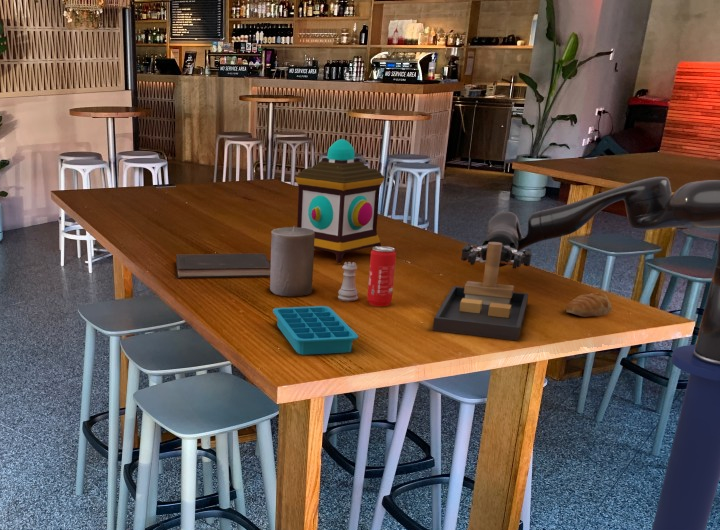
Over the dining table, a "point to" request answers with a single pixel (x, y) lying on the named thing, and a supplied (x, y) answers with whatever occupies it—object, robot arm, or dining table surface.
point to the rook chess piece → (348, 283)
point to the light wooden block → (470, 305)
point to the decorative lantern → (340, 201)
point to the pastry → (589, 305)
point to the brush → (490, 281)
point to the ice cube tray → (315, 330)
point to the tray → (480, 318)
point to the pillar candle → (292, 261)
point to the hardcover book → (222, 265)
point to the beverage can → (381, 276)
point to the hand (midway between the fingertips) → (493, 262)
